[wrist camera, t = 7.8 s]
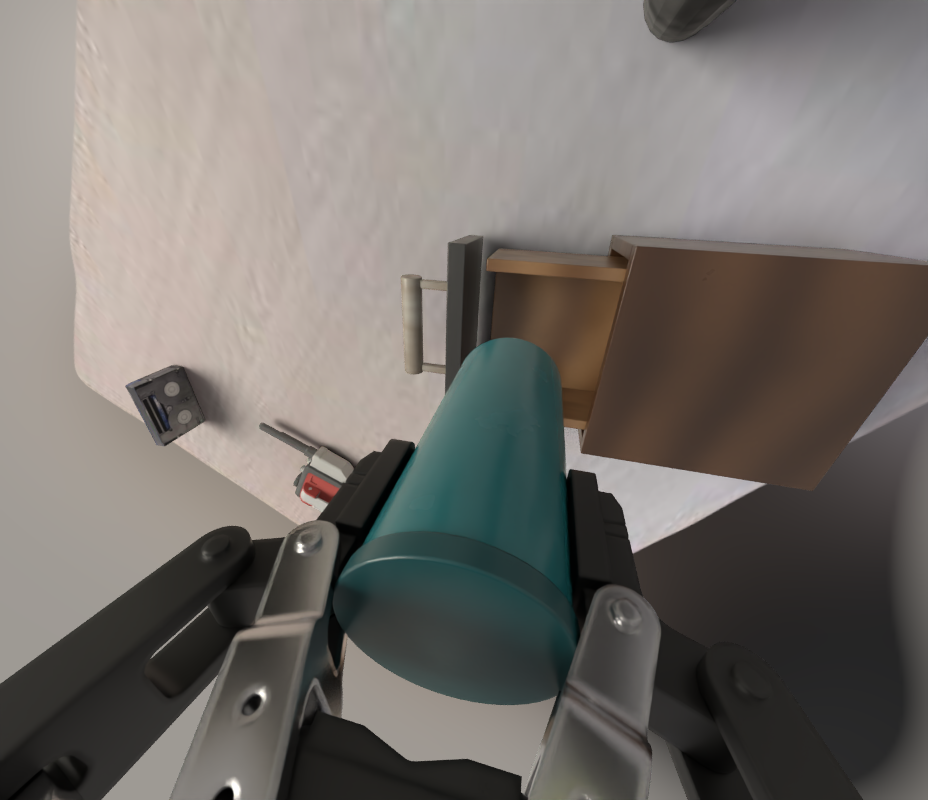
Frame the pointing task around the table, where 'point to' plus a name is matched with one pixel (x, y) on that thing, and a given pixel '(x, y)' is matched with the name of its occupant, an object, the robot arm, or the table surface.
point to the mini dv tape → (166, 404)
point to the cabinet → (751, 355)
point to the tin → (475, 542)
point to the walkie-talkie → (316, 471)
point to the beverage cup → (681, 16)
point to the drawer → (524, 312)
